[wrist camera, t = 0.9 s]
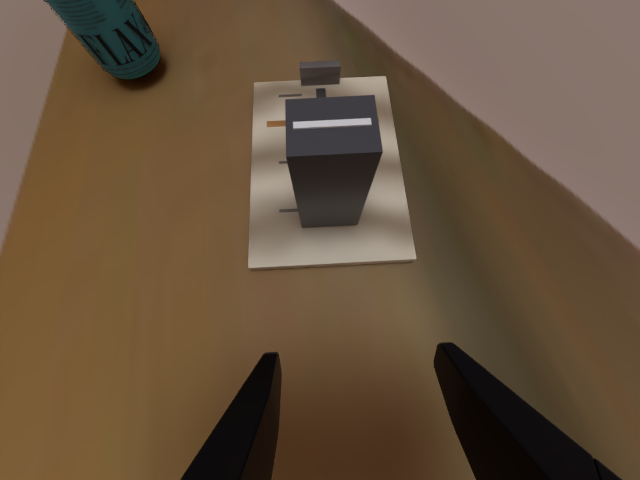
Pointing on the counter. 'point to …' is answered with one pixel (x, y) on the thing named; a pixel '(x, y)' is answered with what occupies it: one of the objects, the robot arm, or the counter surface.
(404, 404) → the counter surface
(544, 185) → the counter surface
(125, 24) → the beverage bottle
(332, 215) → the fader cap
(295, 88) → the console panel
